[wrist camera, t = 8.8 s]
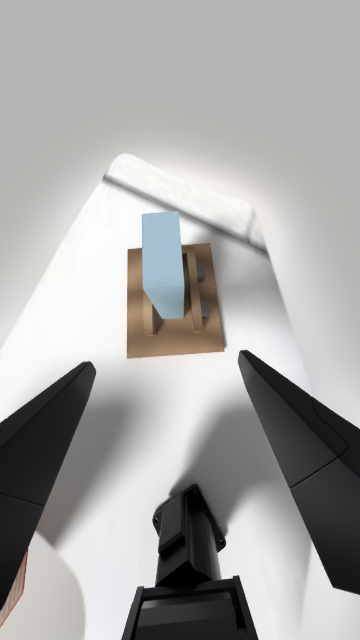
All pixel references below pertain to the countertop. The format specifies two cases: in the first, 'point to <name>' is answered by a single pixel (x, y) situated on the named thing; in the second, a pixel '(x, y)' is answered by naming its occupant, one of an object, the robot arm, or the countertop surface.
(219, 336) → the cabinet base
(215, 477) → the countertop surface
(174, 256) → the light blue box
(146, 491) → the countertop surface
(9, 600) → the cracker box
